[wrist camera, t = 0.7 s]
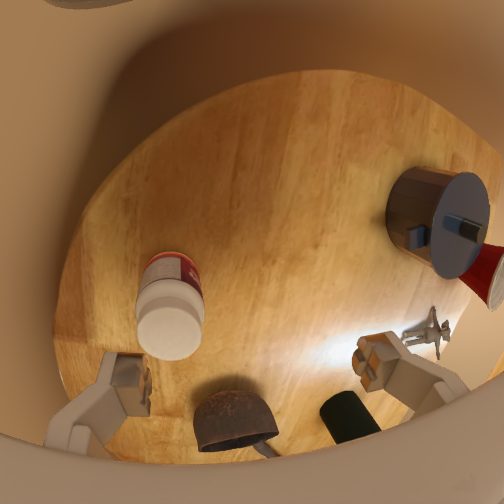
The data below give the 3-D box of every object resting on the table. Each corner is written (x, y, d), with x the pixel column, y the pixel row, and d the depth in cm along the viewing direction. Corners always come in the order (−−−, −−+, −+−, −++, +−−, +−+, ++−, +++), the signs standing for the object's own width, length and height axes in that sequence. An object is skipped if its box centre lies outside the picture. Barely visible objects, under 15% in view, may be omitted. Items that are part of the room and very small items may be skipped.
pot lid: (423, 176, 26) (452, 183, 22) (484, 167, 28) (508, 172, 24) (419, 289, 31) (441, 305, 27) (478, 259, 33) (498, 270, 29)
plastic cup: (466, 274, 45) (510, 300, 34) (433, 288, 43) (481, 321, 32) (475, 220, 41) (525, 241, 30) (441, 228, 39) (499, 254, 28)
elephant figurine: (406, 309, 43) (451, 301, 41) (397, 313, 48) (438, 306, 47) (411, 368, 39) (456, 357, 38) (401, 366, 45) (442, 357, 43)
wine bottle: (326, 428, 49) (392, 542, 22) (314, 405, 45) (394, 542, 18) (360, 409, 50) (435, 516, 23) (353, 383, 46) (445, 509, 18)
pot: (366, 174, 33) (414, 185, 25) (452, 162, 36) (494, 170, 28) (370, 267, 37) (410, 294, 30) (451, 237, 40) (488, 254, 33)
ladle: (249, 366, 35) (270, 436, 27) (300, 428, 59) (314, 463, 52) (170, 392, 35) (179, 459, 28) (255, 443, 59) (266, 478, 52)
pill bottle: (204, 293, 33) (218, 356, 23) (153, 306, 32) (147, 373, 22) (190, 242, 30) (197, 292, 20) (136, 257, 30) (117, 312, 19)
